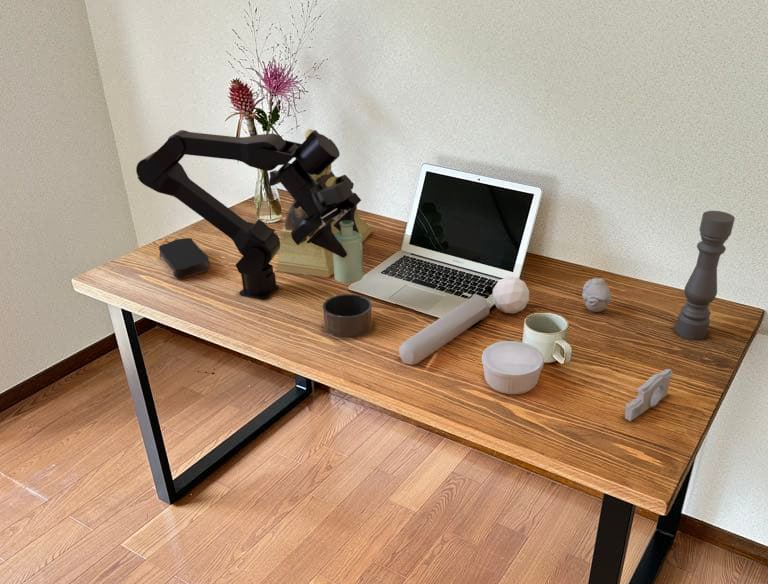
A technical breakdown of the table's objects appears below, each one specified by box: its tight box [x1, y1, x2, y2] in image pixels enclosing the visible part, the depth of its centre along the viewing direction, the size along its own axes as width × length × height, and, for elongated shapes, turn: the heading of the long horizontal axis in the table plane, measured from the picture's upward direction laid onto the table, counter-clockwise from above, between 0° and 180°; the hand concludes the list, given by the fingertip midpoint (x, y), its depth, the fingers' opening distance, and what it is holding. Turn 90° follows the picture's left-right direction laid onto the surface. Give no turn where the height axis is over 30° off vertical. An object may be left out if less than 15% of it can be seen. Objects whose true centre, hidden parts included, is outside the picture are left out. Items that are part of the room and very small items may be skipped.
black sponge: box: [158, 237, 211, 280], centre depth 171 cm, size 16×8×4 cm, turn 33°
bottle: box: [333, 220, 364, 284], centre depth 149 cm, size 6×6×12 cm
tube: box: [397, 293, 491, 366], centre depth 144 cm, size 5×5×25 cm
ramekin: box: [481, 340, 545, 395], centre depth 132 cm, size 11×11×5 cm
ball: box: [492, 276, 530, 314], centre depth 154 cm, size 8×8×8 cm
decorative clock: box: [276, 128, 372, 278], centre depth 172 cm, size 28×13×30 cm, turn 164°
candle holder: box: [674, 210, 736, 340], centre depth 143 cm, size 6×6×25 cm
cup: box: [321, 293, 373, 339], centre depth 148 cm, size 10×10×5 cm
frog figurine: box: [581, 277, 612, 313], centre depth 155 cm, size 6×7×7 cm
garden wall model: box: [624, 368, 674, 422], centre depth 125 cm, size 12×2×6 cm, turn 133°
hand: (353, 250), depth 149 cm, fingers closed on bottle, 6 cm apart
